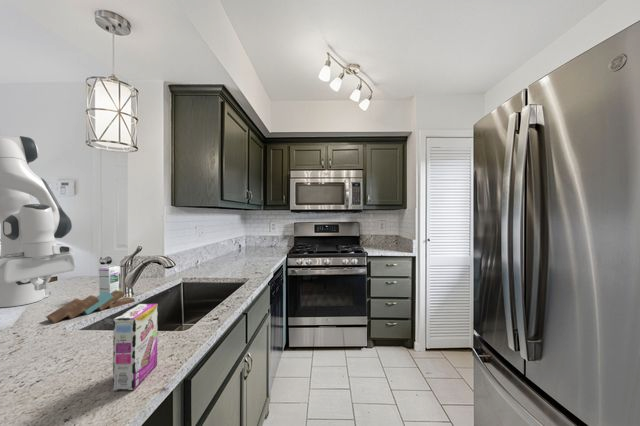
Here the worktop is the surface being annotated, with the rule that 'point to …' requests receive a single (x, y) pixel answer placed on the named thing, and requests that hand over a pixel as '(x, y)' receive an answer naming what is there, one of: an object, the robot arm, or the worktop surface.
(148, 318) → the candy bar box
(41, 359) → the worktop surface
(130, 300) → the domino
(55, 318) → the domino
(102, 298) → the domino
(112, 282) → the syrup box
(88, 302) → the domino
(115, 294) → the domino
